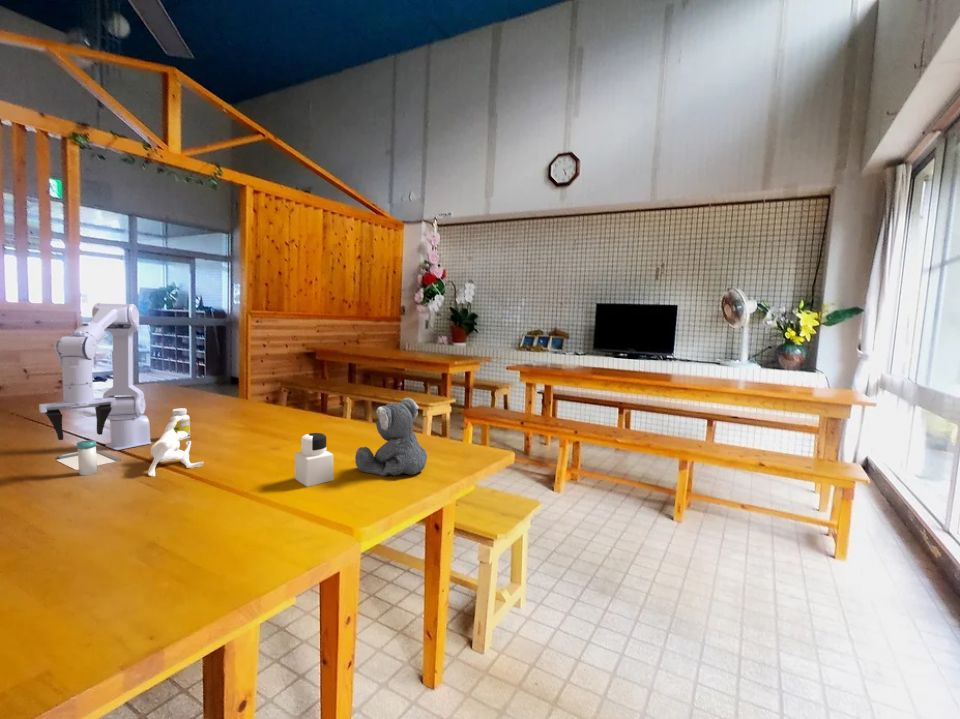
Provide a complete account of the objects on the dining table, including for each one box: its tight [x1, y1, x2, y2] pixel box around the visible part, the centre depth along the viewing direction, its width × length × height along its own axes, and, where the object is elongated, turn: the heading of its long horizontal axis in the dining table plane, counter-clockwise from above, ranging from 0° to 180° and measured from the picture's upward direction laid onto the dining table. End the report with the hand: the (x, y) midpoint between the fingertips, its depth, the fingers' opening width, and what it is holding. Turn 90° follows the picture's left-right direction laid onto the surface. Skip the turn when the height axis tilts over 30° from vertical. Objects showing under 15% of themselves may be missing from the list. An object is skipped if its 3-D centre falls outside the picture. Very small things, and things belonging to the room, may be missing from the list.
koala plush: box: [355, 396, 428, 477], centre depth 128 cm, size 17×18×20 cm
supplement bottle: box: [169, 407, 191, 440], centre depth 153 cm, size 5×5×10 cm
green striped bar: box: [56, 451, 78, 459], centre depth 134 cm, size 8×2×1 cm, turn 148°
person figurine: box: [147, 416, 205, 477], centre depth 127 cm, size 13×13×18 cm
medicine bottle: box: [294, 432, 334, 488], centre depth 118 cm, size 7×7×12 cm
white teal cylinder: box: [76, 439, 98, 476], centre depth 119 cm, size 4×4×8 cm
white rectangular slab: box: [56, 450, 122, 471], centre depth 129 cm, size 10×14×1 cm
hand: (80, 436), depth 118 cm, fingers open, 7 cm apart
